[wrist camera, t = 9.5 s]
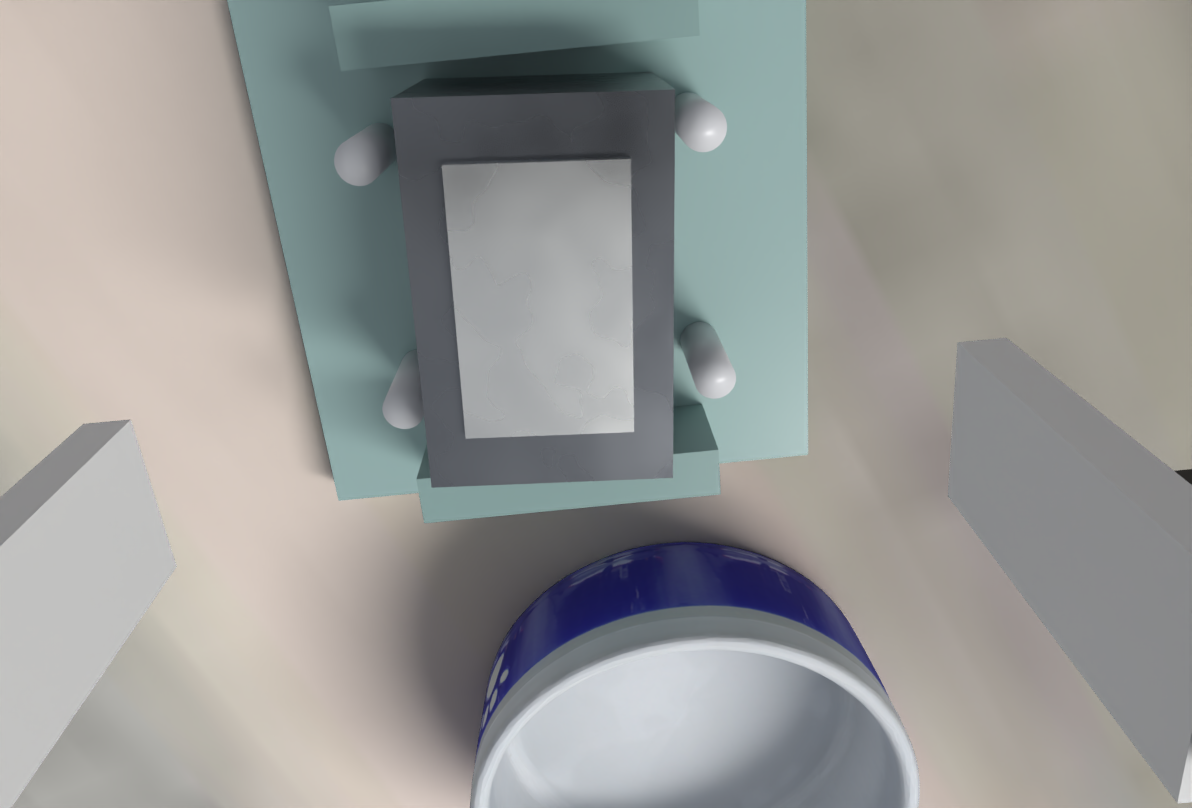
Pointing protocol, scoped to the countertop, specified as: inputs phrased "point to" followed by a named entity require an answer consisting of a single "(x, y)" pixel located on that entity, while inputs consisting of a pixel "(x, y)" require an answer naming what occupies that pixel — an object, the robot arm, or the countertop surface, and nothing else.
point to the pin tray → (701, 216)
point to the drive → (541, 274)
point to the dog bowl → (688, 693)
